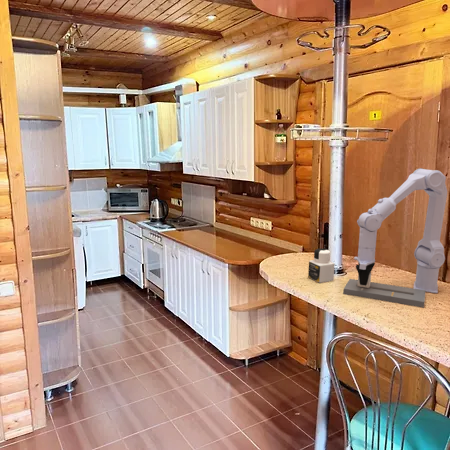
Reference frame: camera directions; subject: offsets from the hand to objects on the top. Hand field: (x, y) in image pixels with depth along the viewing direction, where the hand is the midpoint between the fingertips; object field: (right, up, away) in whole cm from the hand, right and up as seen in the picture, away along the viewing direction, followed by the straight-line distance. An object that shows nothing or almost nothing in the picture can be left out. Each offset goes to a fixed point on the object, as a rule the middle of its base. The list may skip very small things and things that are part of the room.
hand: (364, 283), depth 149 cm
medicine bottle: (-12, 0, +13) cm, 18 cm away
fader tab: (0, -1, 0) cm, 1 cm away
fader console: (+6, -4, -2) cm, 8 cm away
